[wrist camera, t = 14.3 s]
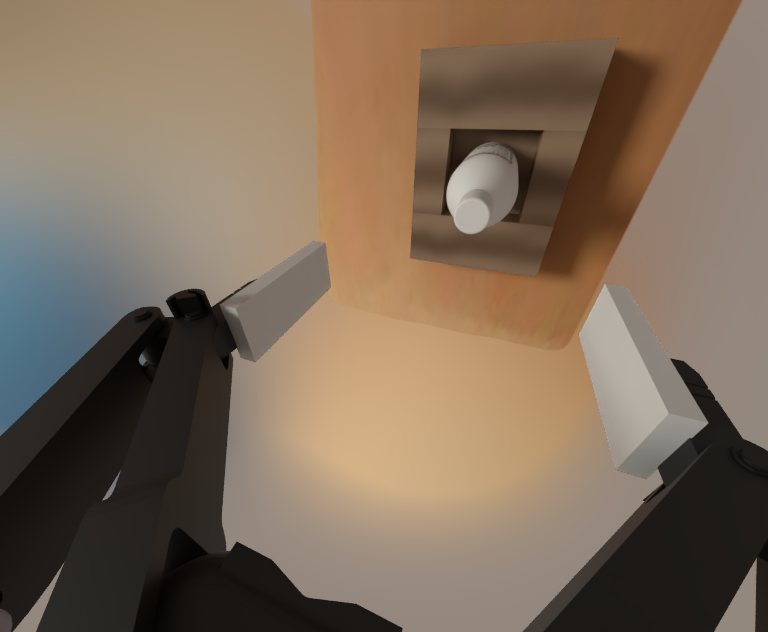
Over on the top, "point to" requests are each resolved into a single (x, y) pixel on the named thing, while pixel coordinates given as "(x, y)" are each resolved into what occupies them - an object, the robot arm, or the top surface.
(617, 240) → the top surface
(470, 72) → the walnut holder
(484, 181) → the bath foam
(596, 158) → the top surface
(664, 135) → the top surface
